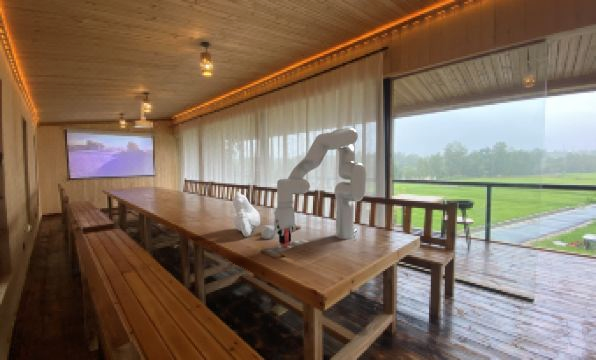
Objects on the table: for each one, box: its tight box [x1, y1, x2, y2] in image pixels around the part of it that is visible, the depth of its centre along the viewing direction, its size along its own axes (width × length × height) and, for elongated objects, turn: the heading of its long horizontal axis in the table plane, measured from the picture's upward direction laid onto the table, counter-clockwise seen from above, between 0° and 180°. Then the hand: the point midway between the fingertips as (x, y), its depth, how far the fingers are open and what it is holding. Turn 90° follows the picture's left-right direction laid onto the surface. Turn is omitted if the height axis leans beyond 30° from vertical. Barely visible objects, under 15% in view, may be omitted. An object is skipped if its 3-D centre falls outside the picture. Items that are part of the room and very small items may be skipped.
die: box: [260, 224, 278, 240], centre depth 145 cm, size 8×9×10 cm
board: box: [260, 238, 310, 259], centre depth 132 cm, size 26×12×1 cm, turn 136°
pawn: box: [279, 228, 291, 246], centre depth 129 cm, size 5×5×10 cm
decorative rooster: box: [232, 191, 261, 238], centre depth 156 cm, size 25×16×25 cm
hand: (285, 241), depth 129 cm, fingers closed on pawn, 3 cm apart
